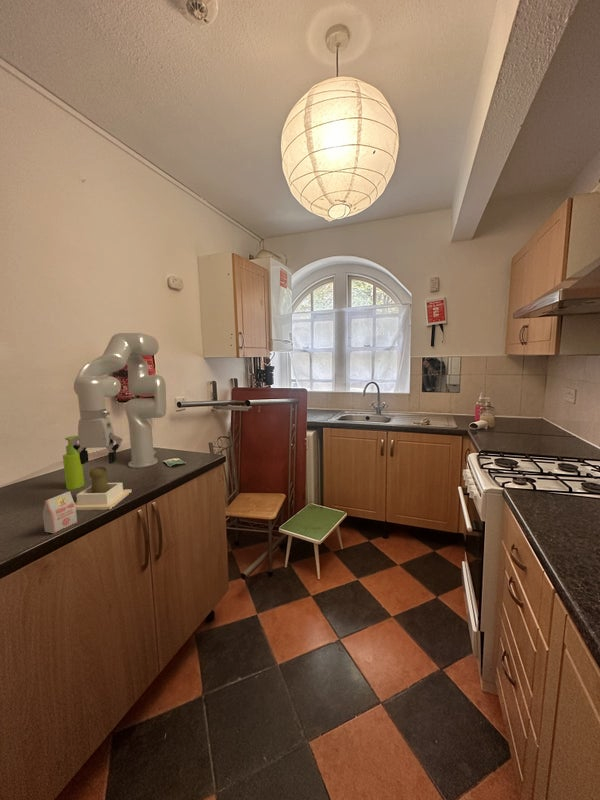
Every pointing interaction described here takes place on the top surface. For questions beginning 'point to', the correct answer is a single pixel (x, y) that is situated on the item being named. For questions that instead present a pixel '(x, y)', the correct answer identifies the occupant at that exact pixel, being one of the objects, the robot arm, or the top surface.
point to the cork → (99, 480)
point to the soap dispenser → (73, 467)
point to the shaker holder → (101, 498)
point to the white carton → (59, 512)
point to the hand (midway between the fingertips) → (98, 462)
